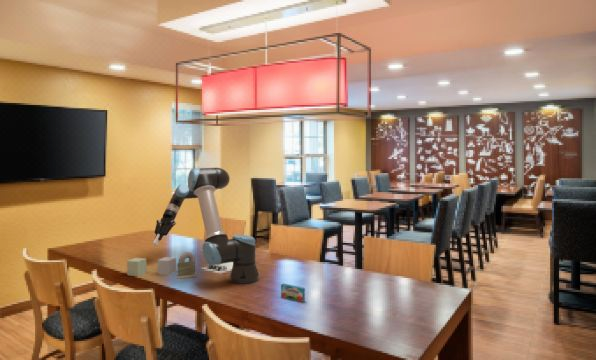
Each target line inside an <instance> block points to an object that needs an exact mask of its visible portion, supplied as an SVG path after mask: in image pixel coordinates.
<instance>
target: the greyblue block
mask: <svg viewBox="0 0 596 360" xmlns="http://www.w3.org/2000/svg"><path fill="white" fill-rule="evenodd" d="M175 273H177V258H176V257H171V256H164V257H162V258H160V259H157V275H159V276H162V275H163V276H171V275H173V274H175Z"/></svg>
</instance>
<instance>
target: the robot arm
mask: <svg viewBox="0 0 596 360" xmlns="http://www.w3.org/2000/svg"><path fill="white" fill-rule="evenodd" d="M229 184H230V175H229V172H228V171H227V170H225V169H223V168H221V167H196V168H192V169H190V171H189V173H188V176H187V185H186V184H184V183H181V184H179V185H178V186H177V187H176V189H175V190H174V193H173V194H172V195H171V198H170V200H169V202H168V205H167V206H166V208H165V210H164V211H163V214H162V217H161V218H160V219H157V220H156V222H155V223H156V225H155V229H154V234H155V236H154V240H153V245H154V246H155V247H156V246H157V247H158V245H159V243H160V241H161V240H162V238H163V237H164V236H165V237H166V236H167V235H168V234H169V232H171V230H172V228H174V226H175V225H177V223H176V221H175V219H176V217H177V215H178V213H179V211H180V209H181V206H182V204H183V203H184V201H185V200H186V199H187V200H189V199H197V201H198V204H199V208H200V212H201V218H202V221H203V227H204V230H205V231H204V232H205V235H206V237H205V239H204V242H203V244H202V254H203V255H202V256H203V258H204V260H205V261H206V263H207V264H208V265H211V266H213V265H214V266H216V265H221V264H222V265H223V264H227V263H229V264H230V263H232V268H231V271H230V275H229V281H230V282H231V283H234V284H239V285H240V284H241V285H242V284H252V283H255V282H257V281H259V279H260V274H259V271H258V267H257V264H256V239H255V238H254V237H253V236H252V235H245V234H234V235H232V238H228V234H227V233H224V229H223V225H222V222H221V217H220V213H219V209H218V205H217V201H216V197H215V194H214V192H216V190H222V189H224V188H226V187H227V186H228V185H229Z"/></svg>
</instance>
